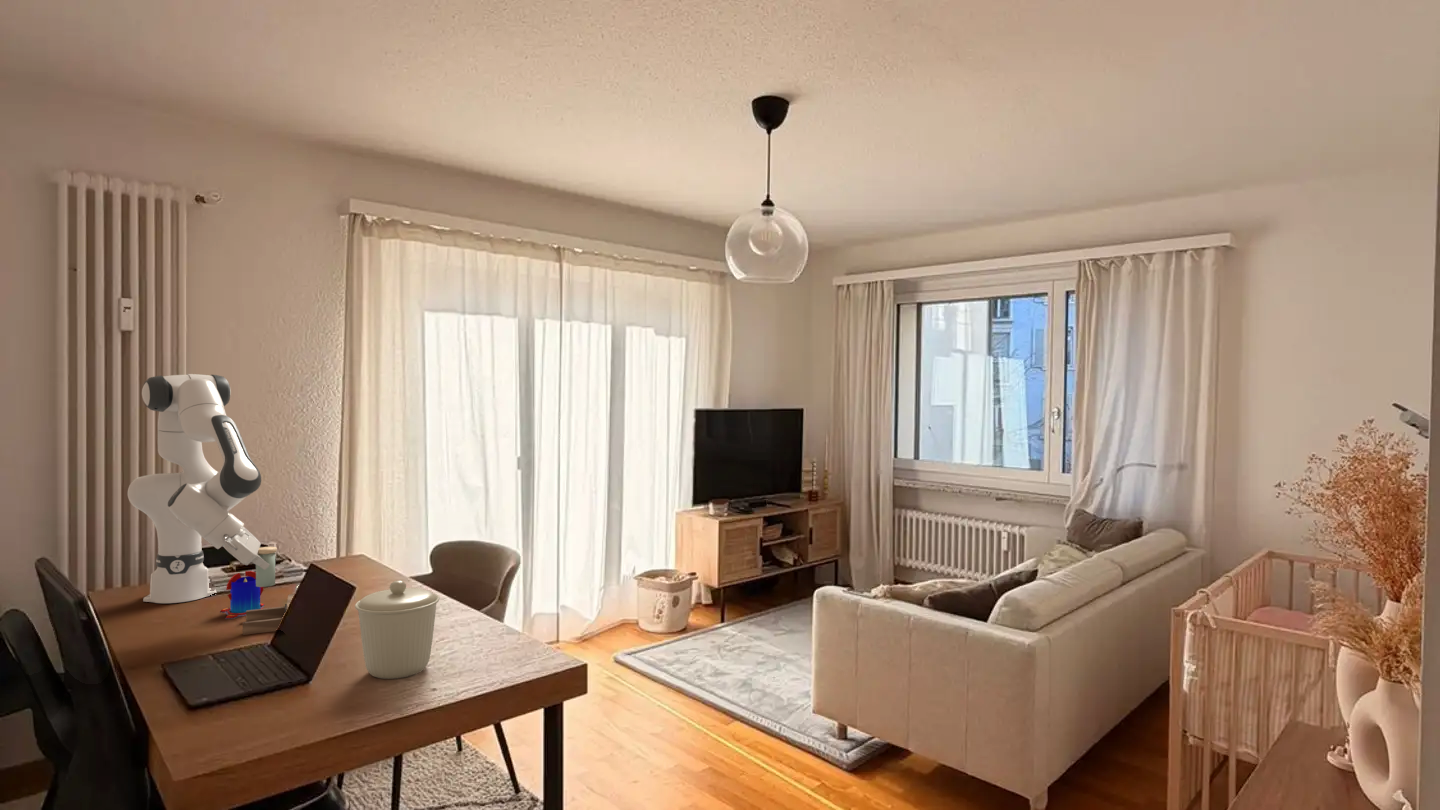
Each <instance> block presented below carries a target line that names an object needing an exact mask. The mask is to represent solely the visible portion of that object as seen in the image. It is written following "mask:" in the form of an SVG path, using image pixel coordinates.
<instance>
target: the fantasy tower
mask: <svg viewBox="0 0 1440 810" xmlns="http://www.w3.org/2000/svg"><path fill="white" fill-rule="evenodd" d="M244 572H245V573H244V575H245V576H243V577H242V575H241V573H240V572H238V573H236V574H234V575H233V576H232V577H230V579H229V580H228V582H227V584H226V587H225V588H226V591H229V590H230V593H229V594H227V598H229V600H230V601H229V602H230V605H229V606H230V607H226V608H223V609H221V610H220V611H219V613H221V612H222V613H223V614H226V616H225V618H224V619H225V620H233V619H236V618H240V617H246V611H247V610H256V609H264V607H265V604H264V603H261V595H262V593H263V592H264V588H265V587H257V586H256V571H252V570H245V571H244Z"/></svg>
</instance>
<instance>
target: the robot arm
mask: <svg viewBox="0 0 1440 810" xmlns="http://www.w3.org/2000/svg"><path fill="white" fill-rule="evenodd" d="M231 393H232V391H231V386H230V383H229V380H227V378H225V377H224V376H222V375H217V374H210V375H208V374H198V373H196V374H195V373H186V374H172V375H165V376H163V375H155V376H152V377H149V378H147V379H146V380H145V381H144V382H143V387H142V389H141V397H142V401H143V402H144V405H145V406H146V408H148V409H149V410H150V411H154V412H158V417H157V453H158V455H159V456H160V457H161V458H162V460H163V459H164V460H165V461H166V462H168V463H169V462H170V463H171V464H175V465H178V466H179V467H181V468H182V472H171V473H170V472H169V473H166V472H165V473H153V474H152V473H151V474H147V475H142V476H138V477H136V478H134V479H133V480H132V481H131V482H130V484H129V486H128V488H127V498H128V501H129V503H130V505H132V507H134V508H135V509H136V510H137V509H138V510H139V511H141V512H142V513H144V514H145V515H147V517H148V518H149V519H150V520H151V521H152V524H153V525H154V526H155V527H154V528H155V530H156V535H157V546H158V547H157V549H158V553H157V554H156V561H155V562H156V569H155V570H154V571H153V572H151V574H150V585H149V594H148V595H146V596H144V597H143V600H142V601H143V602H146V603H147V602H149V603H154V604H177V603H185V602H192V601H196V600H199V599H203V598H205V597H210V595H211V596H213V595H212V594H214V593H217V590H216V589H215V590H214V591H210V590H211V588H209V583H211V579H210V578H209V568H208V567H207V566H205V564H204V563H203V562H204V560H205V557H204V550H202V547H203V545H202V541H203V540H205V541H206V542H208V543H209V544H210V545H211V546H212V547H214V548H215V549H217V550H219V549H220V548H224V549H225V550H226V551H227V553H229V554H230V555H231V556H233V557H234V558H235V559H236V560H238V561H239V562H240V563H241V564H243V565H245V566H248V565H250V564H251V563H252V564H254V565H255V566H256V565H258V566H260V567H261V568H262V569H264V570H265V569H267V568H268V567H269V565H270V564H269V563H268V562H267V561H265V560H263V559H262V558H261V557H260V556H259V555H258V550H259V548H261V545H262V543H261V542H260V540H258V538H257V537H256V536H255V535H254V534H253V533H252V532H250V531H249V529H248V528H246V526H245V523H244V522H243V521H241V520H240V519H239V518H238V517H236V516H235V515H234V514H233V513H232V512H230V510H232V509H233V508H234V507H236V506H237V505H239V504H240V503H242V501H243V500H244V499H246V498H247V497H248V496H250V495H251V494H253V493H254V492H256V491H258V489H259V488H260V487H261V484H262V473H261V472H260V470H259V468H258V467H257V465H256V464H255V463H254V461H253V460H252V458H251V456H250V453H249V452H248V451H249V450H248V448H247V446H246V444H245V442H244V440H243V437H242V435H241V432H240V430H239V427H238V426H237V423H236V422H235V421H234V420H233V419H232V418H231V417H230V416H228V415H227V412H226V410H225V406H227V405H228V404H229V403H230V400H231V399H230V398H231V397H232V396H231V395H232V394H231ZM215 442H216V444H217V447H218V449H219V452H220V454H221V457H222V460H223V462H222V465H221V467H220V470H219V471H218V470H216V469H215V468H214V467H212V466H211V465H210V463H209V462H208V461H207V459H206V457H205V455H204V451H203V443H215ZM202 539H203V540H202Z"/></svg>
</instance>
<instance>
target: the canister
mask: <svg viewBox="0 0 1440 810" xmlns="http://www.w3.org/2000/svg"><path fill="white" fill-rule="evenodd" d="M439 601H440V596H439V595H438V594H436V593H434V592H432V591H431V590H429V589H425V588H420V587H419V588H418V587H407V583H406V582H405V581H404V580H394V581H392V582H391V583H390V585H389V589H384V590H379V591H375V592H372V593H369V594H368V595H366V596H364V597H362V599H360V600H358V601H356V602H355V604H354V608H355V610H356V611H357V612H358V620H359V629H360V639H361V646H362V652H363V659H364V665H365V668H366V670H367V672H368V673H369V674H370V676H372V677H375V678H378V679H386V680H388V679H389V680H390V679H391V680H392V679H393V680H394V679H402V678H407V677H411V676H414V675H417V674H418V673H420V672H423V670H424V669H426V667H427V666H428V664H429V662H430V657H431V653H432V645H433V637H434V631H435V630H434V629H435V620H436V610H437V604H438V603H439Z"/></svg>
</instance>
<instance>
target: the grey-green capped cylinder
mask: <svg viewBox="0 0 1440 810" xmlns="http://www.w3.org/2000/svg"><path fill="white" fill-rule="evenodd" d="M277 552H278V548H277V547H276V546H260V548H259V550H258V555H259V556H260V557H261V558H262V559H263V560H265V561H267V562H268V563H269V564H270V565H269V567H268V568H267V569H265V570H264V569H262V568H261V567H260V566H258V565H256V564H255V572H256V586H257V587H264V588H267V587H272V586H275V585H276V553H277Z"/></svg>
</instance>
